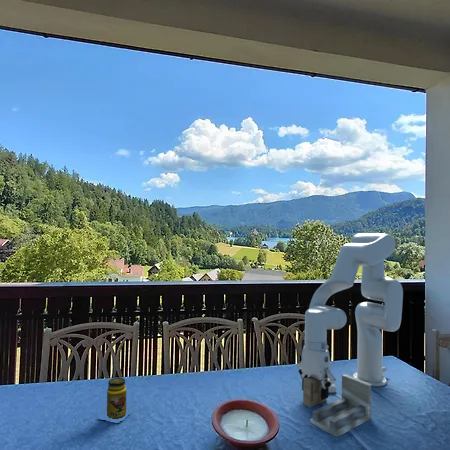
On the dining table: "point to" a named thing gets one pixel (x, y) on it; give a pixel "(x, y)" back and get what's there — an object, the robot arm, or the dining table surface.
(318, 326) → the robot arm
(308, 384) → the door
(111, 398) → the condiment
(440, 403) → the dining table surface
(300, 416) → the dining table surface
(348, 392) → the track
